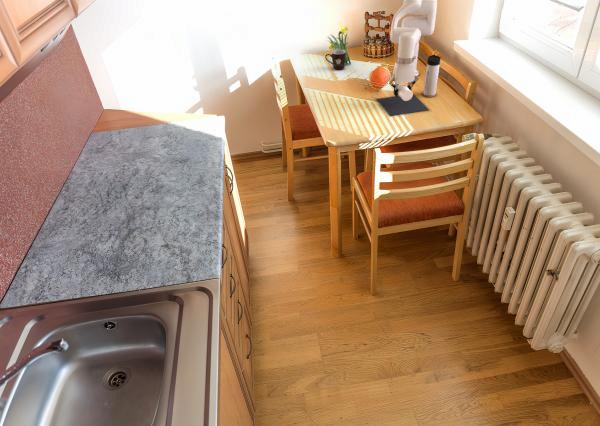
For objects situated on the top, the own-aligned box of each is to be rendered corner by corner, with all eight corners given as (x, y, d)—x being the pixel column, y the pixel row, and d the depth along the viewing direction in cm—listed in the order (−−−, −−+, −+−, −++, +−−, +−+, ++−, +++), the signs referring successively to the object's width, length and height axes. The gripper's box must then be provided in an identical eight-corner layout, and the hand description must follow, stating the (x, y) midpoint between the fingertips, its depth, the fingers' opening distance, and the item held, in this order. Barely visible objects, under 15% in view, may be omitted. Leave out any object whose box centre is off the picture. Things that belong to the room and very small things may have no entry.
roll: (402, 90, 232) (403, 80, 229) (412, 100, 223) (413, 89, 219) (391, 92, 231) (392, 81, 228) (401, 101, 222) (402, 91, 218)
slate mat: (376, 99, 235) (376, 98, 235) (412, 94, 238) (412, 93, 238) (390, 115, 220) (390, 115, 220) (428, 110, 222) (428, 109, 222)
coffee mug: (348, 67, 274) (348, 50, 267) (341, 71, 268) (341, 55, 262) (331, 64, 279) (331, 48, 273) (324, 68, 273) (324, 52, 267)
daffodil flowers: (327, 68, 276) (320, 36, 296) (346, 77, 283) (338, 45, 303) (343, 46, 265) (334, 14, 285) (362, 56, 272) (352, 24, 292)
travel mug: (434, 91, 239) (439, 54, 226) (436, 97, 234) (441, 59, 221) (422, 92, 239) (427, 54, 227) (424, 97, 234) (428, 59, 222)
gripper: (419, 54, 219) (415, 89, 231) (385, 59, 217) (383, 94, 229) (425, 60, 214) (421, 95, 225) (391, 64, 211) (388, 100, 223)
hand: (402, 94), depth 227 cm, fingers closed on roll, 6 cm apart
